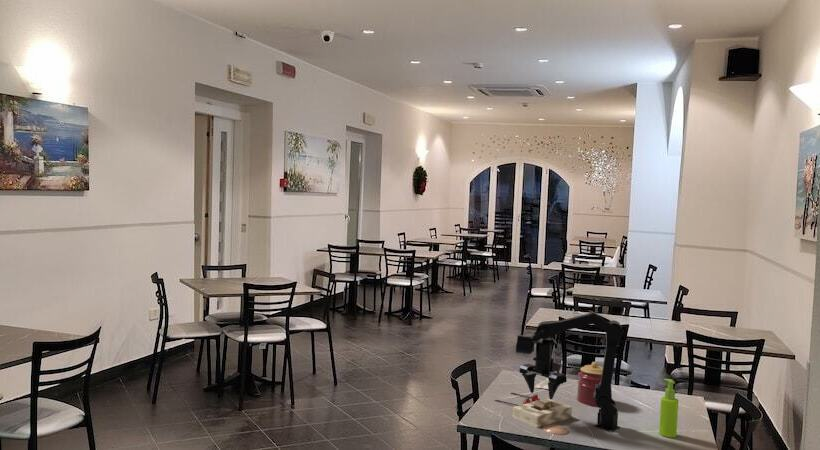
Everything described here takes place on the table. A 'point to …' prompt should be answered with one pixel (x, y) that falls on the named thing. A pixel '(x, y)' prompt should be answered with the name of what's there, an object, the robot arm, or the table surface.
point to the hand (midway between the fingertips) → (541, 395)
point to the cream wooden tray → (542, 413)
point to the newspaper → (543, 384)
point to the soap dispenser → (669, 412)
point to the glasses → (524, 400)
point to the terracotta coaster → (555, 429)
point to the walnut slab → (540, 405)
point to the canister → (588, 383)
